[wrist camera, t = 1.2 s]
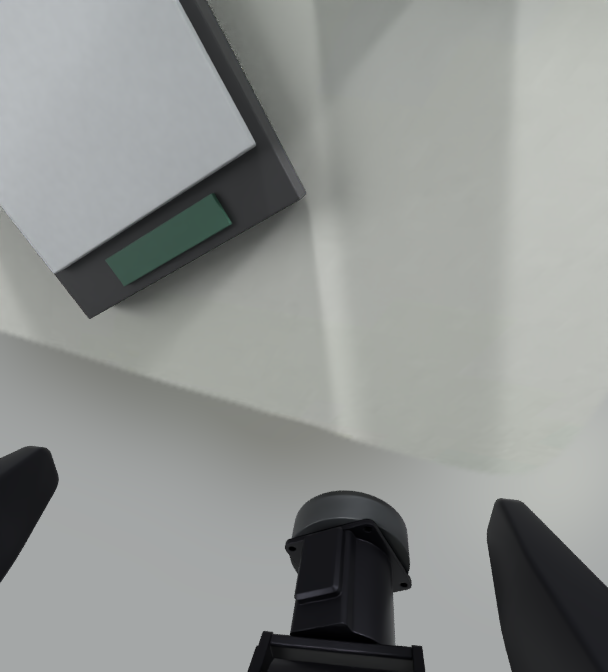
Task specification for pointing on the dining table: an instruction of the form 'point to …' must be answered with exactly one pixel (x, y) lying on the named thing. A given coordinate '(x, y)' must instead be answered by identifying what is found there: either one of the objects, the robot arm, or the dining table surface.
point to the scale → (130, 141)
